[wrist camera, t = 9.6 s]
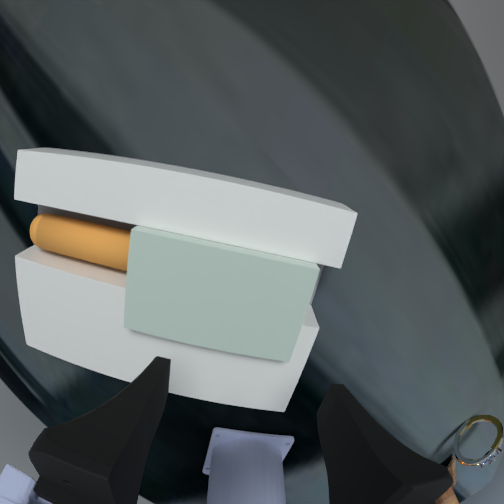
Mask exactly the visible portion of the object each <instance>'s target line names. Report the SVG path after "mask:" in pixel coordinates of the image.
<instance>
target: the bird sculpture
mask: <svg viewBox="0 0 504 504" xmlns="http://www.w3.org/2000/svg"><path fill="white" fill-rule="evenodd" d="M447 468H448V470H449V472H450V474H451V476H452V478H453V484H452V486H451V487H450V488H449V489H448V490H447V491H446V492H445V493H444V494H443V495H442V496H441V497H439V498H438V499H437V500H436V501H435V503H436V504H459V503H458V501H457V498H456V496H455V493H454V491H453V489H452V487H453V486H454V485H455V484H456V465H455V458H454V456H453V454H452V457H451V461H450V463H449V465H448V466H447Z"/></svg>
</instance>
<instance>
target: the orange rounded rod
mask: <svg viewBox="0 0 504 504" xmlns="http://www.w3.org/2000/svg"><path fill="white" fill-rule="evenodd" d="M130 234H131V231H128V230H123V229H118V228H114V227H109V226H105V225H100V224H95V223H91V222H86V221H82V220H77V219H73V218H68V217H64V216H59V215H54V214H50V213H43V214H40V215H38V216H37V217H36V218H35V219H34V220H33V221H32V223H31V226H30V237H31V239H32V241H33V243H34V244H35V245H36V246H37V247H39V248H42V249H45V250H49V251H52V252H56V253H60V254H63V255H67V256H71V257H74V258H78V259H82V260H85V261H89V262H93V263H97V264H101V265H105V266H109V267H113V268H117V269H121V270H125V271H127V264H128V253H129V243H130Z"/></svg>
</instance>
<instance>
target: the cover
mask: <svg viewBox="0 0 504 504" xmlns="http://www.w3.org/2000/svg"><path fill="white" fill-rule="evenodd" d="M319 272H320V269H319V267H318V266H317V264H316V263H311V262H307V261H302V260H297V259H293V258H288V257H283V256H279V255H274V254H269V253H265V252H260V251H255V250H251V249H246V248H241V247H237V246H232V245H227V244H223V243H218V242H213V241H209V240H204V239H199V238H194V237H190V236H185V235H180V234H176V233H171V232H166V231H161V230H157V229H152V228H147V227H143V226H138V225H137V226H136V227H134V228H133V229H131V234H130V243H129V253H128V264H127V276H126V290H125V309H124V328H127V329H131V330H134V331H138V332H142V333H146V334H150V335H154V336H158V337H162V338H166V339H170V340H174V341H178V342H183V343H187V344H192V345H196V346H201V347H206V348H211V349H215V350H221V351H226V352H231V353H236V354H242V355H248V356H253V357H259V358H265V359H272V360H278V361H285V362H289V361H290V358H291V356H292V353H293V350H294V347H295V344H296V342H297V339H298V336H299V333H300V330H301V327H302V324H303V321H304V318H305V315H306V312H307V309H308V306H309V303H310V300H311V297H312V294H313V291H314V288H315V284H316V281H317V278H318V275H319Z"/></svg>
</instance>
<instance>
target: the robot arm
mask: <svg viewBox="0 0 504 504" xmlns="http://www.w3.org/2000/svg"><path fill="white" fill-rule="evenodd" d="M170 365H171V359H168V358H164V357H159V356H157V357H155V358H154V359H153V360H152V362H151V363H150V364H149V365H148V366H147V367H146V368H145V369H144V370H143V371H142V373H141V374H140V375H138V376H137V377H136V378H135V379H134V380H133V381H132V382H131V383H130V384H129V385H128V386H127V387H125V388H124V389H123V390H122V391H120V392H119V393H118V394H117V395H115V396H114V397H113V398H111V399H110V400H108V401H107V402H105V403H104V404H102V405H101V406H99V407H97V408H95V409H94V410H92V411H90V412H88V413H86V414H84V415H82V416H80V417H77V418H75V419H73V420H70V421H68V422H65V423H62V424H59V425H56V426H52V427H49V428H45V429H44V430H43V431H42V433H41V434H40V435H39V436H38V438H37V439H36V441H35V442H34V444H33V446H32V448H31V449H30V451H29V458H30V460H31V462H32V464H33V465H34V467H35V469H36V470H37V472H38V474H39V475H40V477H39V479H38V481H35V480H34V479H33V478H32V477H30V476H29V475H27V474H25V473H24V472H22V471H20V470H18V469H16V468H15V467H13V466H11V465H10V464H7V465H6V466H5V468H4V470H3V472H2V473H1V475H0V504H137V500H138V495H139V490H140V485H141V480H142V476H143V471H144V467H145V463H146V459H147V455H148V452H149V448H150V446H151V443H152V440H153V438H154V435H155V433H156V430H157V427H158V425H159V422H160V419H161V417H162V414H163V411H164V408H165V404H166V400H167V396H168V391H169V378H170ZM317 425H318V434H319V438H320V443H321V447H322V451H323V456H324V460H325V465H326V469H327V475H328V485H329V502H330V504H436V503H435V501H436V500H437V499H438V498H439V497H441V496H442V495H443V494H444V493H445V492H446V491H447V490H448V489H449V488H450V487H451V486H452V484H453V478H452V476H451V474H450V472H449V470H448V468H447V467H445V466H443V465H440V464H438V463H435V462H433V461H431V460H429V459H427V458H425V457H423V456H421V455H419V454H417V453H415V452H414V451H412V450H411V449H409V448H408V447H406V446H405V445H403V444H402V443H400V442H399V441H398V440H396V439H395V438H394V437H393V436H391V435H390V434H389V433H388V432H387V431H386V430H384V429H383V428H382V427H381V426H380V425H379V424H378V423H377V422H376V421H375V420H374V419H373V418H372V417H371V416H370V414H369V413H368V412H367V411H366V410H365V409H364V408H363V407H362V406H361V404H360V403H359V402H358V401H357V400H356V399H355V397H354V396H353V395H352V394H351V393H350V391H349V390H348V389H347V388H346V387H345V386H344V385H343V384H331V385H330V387H329V389H328V392H327V394H326V396H325V398H324V400H323V402H322V404H321V406H320V408H319V409H318V411H317ZM293 442H294V437H292V436H284V435H273V434H263V433H254V432H246V431H239V430H232V429H226V428H220V427H216V428H214V429H213V431H212V435H211V439H210V443H209V447H208V451H207V455H206V459H205V463H204V467H203V473H204V474H208V475H209V484H208V494H207V504H286V498H285V487H284V476H283V465H282V461H283V459H284V458H285V456H286V454H287V453H288V451H289V449H290V448H291V446H292V444H293Z"/></svg>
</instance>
